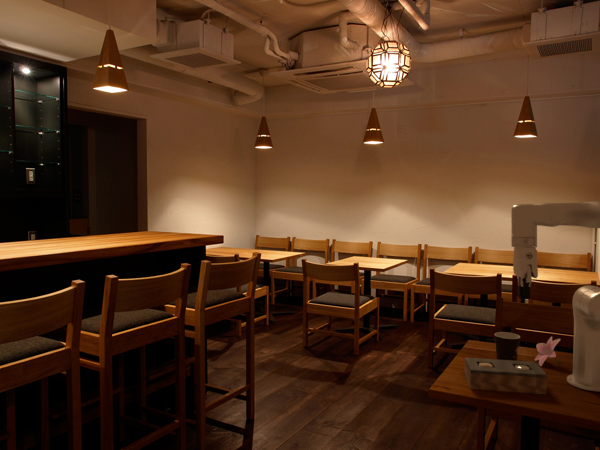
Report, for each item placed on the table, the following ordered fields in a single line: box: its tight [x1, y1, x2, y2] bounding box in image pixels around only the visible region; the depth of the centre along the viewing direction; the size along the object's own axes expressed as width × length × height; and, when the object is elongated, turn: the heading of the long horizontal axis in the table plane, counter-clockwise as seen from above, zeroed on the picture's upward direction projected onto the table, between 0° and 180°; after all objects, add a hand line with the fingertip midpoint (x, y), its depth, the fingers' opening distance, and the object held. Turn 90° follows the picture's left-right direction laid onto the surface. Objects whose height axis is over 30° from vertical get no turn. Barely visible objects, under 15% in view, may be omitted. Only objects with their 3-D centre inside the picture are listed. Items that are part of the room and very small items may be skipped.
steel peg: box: [515, 365, 529, 370], centre depth 151 cm, size 4×4×6 cm
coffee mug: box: [494, 331, 521, 361], centre depth 174 cm, size 12×9×10 cm
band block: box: [464, 357, 548, 395], centre depth 152 cm, size 22×12×6 cm, turn 79°
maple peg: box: [479, 363, 492, 368], centre depth 153 cm, size 4×4×6 cm
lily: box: [534, 336, 561, 367], centre depth 172 cm, size 12×12×10 cm
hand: (524, 298), depth 155 cm, fingers closed
